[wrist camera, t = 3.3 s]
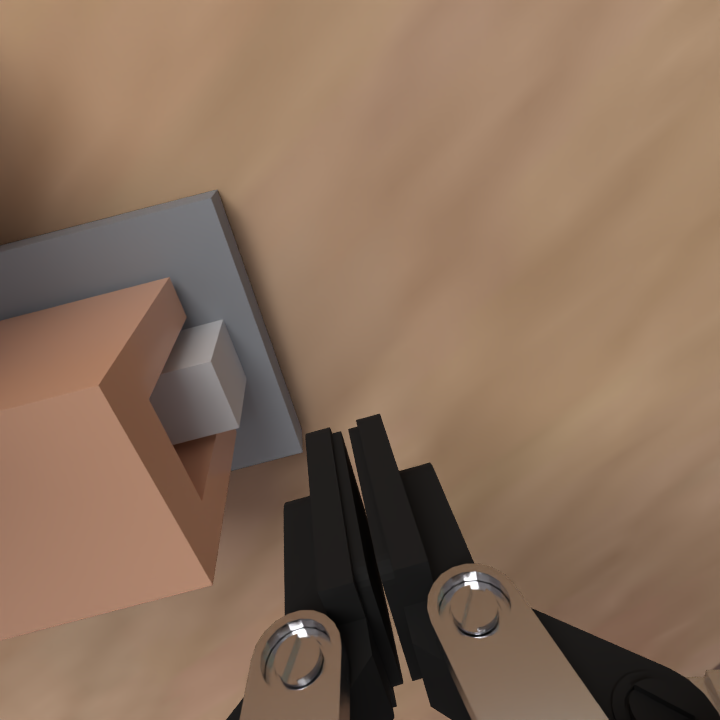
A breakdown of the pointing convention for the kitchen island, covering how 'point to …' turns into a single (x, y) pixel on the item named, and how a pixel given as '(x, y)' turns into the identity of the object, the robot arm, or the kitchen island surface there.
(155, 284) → the slider
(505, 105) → the kitchen island surface
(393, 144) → the kitchen island surface
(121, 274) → the track
